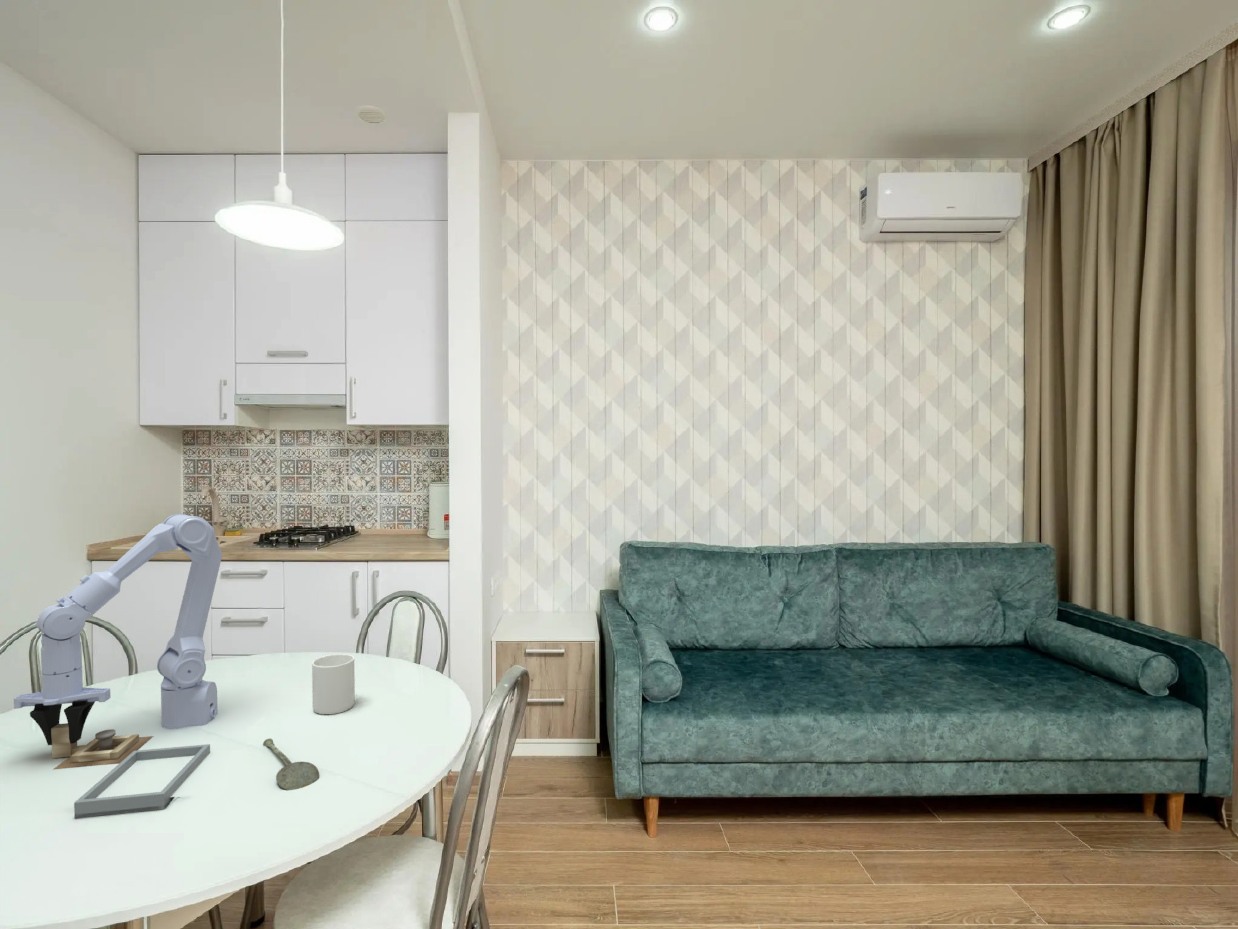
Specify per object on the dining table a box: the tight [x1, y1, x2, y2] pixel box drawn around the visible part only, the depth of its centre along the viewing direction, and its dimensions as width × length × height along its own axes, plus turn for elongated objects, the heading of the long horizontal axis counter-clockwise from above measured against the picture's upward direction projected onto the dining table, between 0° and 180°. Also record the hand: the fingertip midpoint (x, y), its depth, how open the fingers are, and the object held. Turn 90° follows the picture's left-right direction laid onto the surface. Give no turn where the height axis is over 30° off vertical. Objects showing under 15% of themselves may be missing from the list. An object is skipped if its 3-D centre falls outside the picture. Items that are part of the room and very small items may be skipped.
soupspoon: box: [262, 737, 320, 791], centre depth 118 cm, size 22×3×7 cm
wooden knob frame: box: [51, 722, 140, 763], centre depth 121 cm, size 12×8×6 cm, turn 102°
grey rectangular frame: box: [73, 743, 211, 819], centre depth 111 cm, size 13×18×2 cm
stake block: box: [53, 728, 154, 770], centre depth 121 cm, size 11×11×5 cm
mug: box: [311, 653, 356, 715], centre depth 145 cm, size 9×12×11 cm
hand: (64, 742), depth 120 cm, fingers closed on wooden knob frame, 3 cm apart
